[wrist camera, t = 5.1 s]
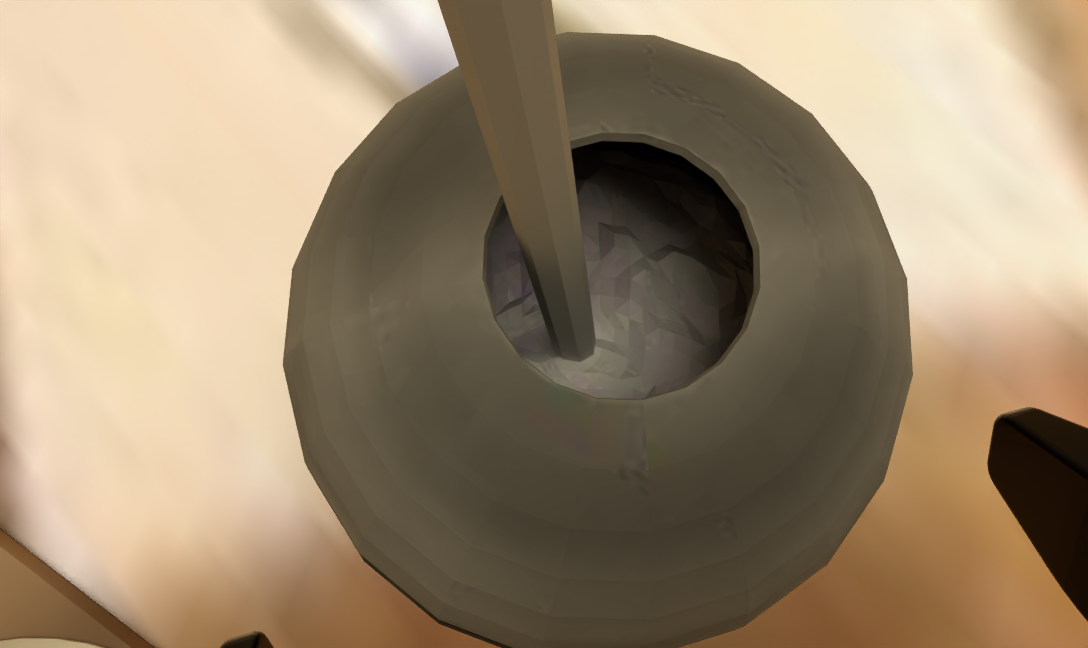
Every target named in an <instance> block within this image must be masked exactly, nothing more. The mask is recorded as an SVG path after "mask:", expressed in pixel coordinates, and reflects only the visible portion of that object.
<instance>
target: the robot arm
mask: <svg viewBox="0 0 1088 648" xmlns="http://www.w3.org/2000/svg"><path fill="white" fill-rule="evenodd" d="M987 464H988V471H989V475H990V477H991V480H992V482H993V483H994V485H995V487H996V488H997V490H998V491H999V493H1000V494H1001V496H1002V497H1003V499H1004V501H1005V502H1006V504H1007V505H1008V507H1009V508H1010V510H1011V511H1012V513H1013V515H1014V516H1015V518H1016V519H1017V521H1018V522H1019V524H1020V525H1021V527H1022V528H1023V530H1024V532H1025V533H1026V535H1027V536H1028V538H1029V539H1030V541H1031V542H1032V544H1033V546H1034V547H1035V549H1036V550H1037V552H1038V553H1039V555H1040V556H1041V558H1042V559H1043V561H1044V563H1045V564H1046V566H1047V567H1048V569H1049V570H1050V572H1051V573H1052V575H1053V576H1054V578H1055V579H1056V581H1057V582H1058V583H1059V585H1060V586H1061V588H1062V589H1063V591H1064V592H1065V593H1066V595H1067V596H1068V597H1069V598H1070V600H1071V601H1072V602H1073V604H1074V605H1075V606H1076V608H1077V609H1078V610H1079V611H1080V613H1081V614H1082V615H1083V616H1084V618H1085V619H1086V620H1087V621H1088V428H1086V427H1084V426H1081V425H1078V424H1076V423H1073V422H1071V421H1068V420H1066V419H1063V418H1061V417H1058V416H1056V415H1053V414H1050V413H1048V412H1045V411H1043V410H1040V409H1037V408H1033V407H1026V408H1021V409H1018V410H1014V411H1011V412H1008V413H1004V414H1001V415H1000V416H998V417H997V419H996V420H995V422H994V425H993V431H992V437H991V443H990V449H989V455H988V463H987ZM220 648H274V647H273V646H272V644H271V643H270V641H269V639H268V638H267V637H266V635H265V634H264V633H262V632H260V631H254V632H251V633H248V634H244V635H241V636H237V637H234V638H231V639H229V640H227V641H225V642H224V643H223V644H222V646H221V647H220Z"/></svg>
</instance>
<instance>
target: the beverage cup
mask: <svg viewBox="0 0 1088 648" xmlns="http://www.w3.org/2000/svg"><path fill="white" fill-rule="evenodd" d="M438 3H439V6H440V9H441V12H442V15H443V18H444V21H445V24H446V27H447V30H448V33H449V36H450V39H451V42H452V45H453V48H454V51H455V54H456V57H457V60H458V63H459V66H458V67H456V68H455V69H453V70H451V71H450V72H448V73H446V74H445V75H443V76H441V77H440V78H438V79H436V80H435V81H433V82H431V83H430V84H428V85H426V86H425V87H423V88H421V89H420V90H418V91H416V92H415V93H413V94H411V95H410V96H408V97H406V98H405V99H403V100H401V101H400V102H398V103H396V104H395V105H394V107H393V108H392V109H391V110H390V111H389V112H388V113H387V114H386V116H385V117H384V118H383V119H382V120H381V121H380V122H379V123H378V125H377V126H376V127H375V128H374V129H373V130H372V131H371V132H370V134H369V135H368V136H367V137H366V138H365V139H364V140H363V141H362V143H361V144H360V145H359V146H358V147H357V148H356V149H355V150H354V152H353V153H352V154H351V155H350V156H349V157H348V158H347V159H346V160H345V162H344V163H343V164H342V165H341V166H340V167H339V168H338V169H337V171H336V172H335V173H334V176H333V178H332V180H331V182H330V185H329V187H328V189H327V191H326V194H325V196H324V198H323V200H322V203H321V205H320V207H319V209H318V212H317V214H316V216H315V218H314V221H313V223H312V225H311V227H310V230H309V232H308V234H307V237H306V239H305V241H304V243H303V246H302V248H301V250H300V252H299V255H298V257H297V259H296V262H295V264H294V266H293V269H292V278H291V288H290V298H289V308H288V318H287V328H286V338H285V348H284V358H283V368H284V372H285V377H286V381H287V385H288V390H289V394H290V399H291V403H292V407H293V412H294V416H295V421H296V425H297V430H298V434H299V438H300V443H301V447H302V452H303V456H304V461H305V463H306V465H307V468H308V470H309V471H310V473H311V474H312V476H313V478H314V480H315V482H316V483H317V485H318V487H319V488H320V490H321V491H322V493H323V495H324V496H325V498H326V500H327V501H328V503H329V505H330V506H331V508H332V509H333V511H334V513H335V514H336V516H337V518H338V519H339V521H340V523H341V524H342V526H343V527H344V529H345V531H346V532H347V534H348V536H349V537H350V539H351V541H352V542H353V544H354V545H355V547H356V549H357V550H358V552H359V554H360V555H361V557H362V559H363V560H364V562H366V563H367V564H368V565H369V566H370V567H372V568H373V569H374V570H375V571H376V572H378V573H379V574H380V575H381V576H382V577H384V578H385V579H386V580H387V581H388V582H390V583H391V584H392V585H393V586H394V587H396V588H397V589H398V590H399V591H400V592H402V593H403V594H404V595H405V596H406V597H408V598H409V599H410V600H411V601H412V602H414V603H415V604H416V605H417V606H418V607H420V608H421V609H422V610H423V611H424V612H426V613H427V614H428V615H429V616H430V617H432V618H433V619H434V620H435V621H436V622H438V623H439V624H441V625H444V626H446V627H449V628H451V629H454V630H457V631H459V632H462V633H464V634H467V635H470V636H472V637H475V638H478V639H480V640H483V641H485V642H488V643H491V644H493V645H496V646H498V647H501V648H678V647H682V646H685V645H688V644H691V643H694V642H698V641H701V640H704V639H707V638H710V637H714V636H717V635H720V634H723V633H726V632H729V631H733V630H736V629H738V628H741V627H743V626H745V625H746V624H748V623H749V622H750V621H752V620H753V619H755V618H756V617H757V616H759V615H760V614H761V613H763V612H764V611H765V610H767V609H768V608H769V607H771V606H772V605H773V604H775V603H776V602H777V601H779V600H780V599H781V598H783V597H784V596H785V595H787V594H788V593H789V592H791V591H792V590H794V589H795V588H796V587H798V586H799V585H800V584H802V583H803V582H804V581H806V580H807V579H808V578H810V577H811V576H812V575H814V574H815V573H816V572H818V571H819V570H820V569H822V568H823V567H824V566H826V565H827V564H828V562H829V561H830V560H831V558H832V557H833V555H834V554H835V552H836V551H837V549H838V548H839V546H840V545H841V543H842V542H843V540H844V539H845V537H846V536H847V534H848V533H849V531H850V530H851V528H852V527H853V525H854V524H855V523H856V521H857V520H858V518H859V517H860V515H861V514H862V512H863V511H864V509H865V508H866V506H867V505H868V503H869V502H870V500H871V499H872V497H873V496H874V494H875V493H876V491H877V490H878V489H879V487H880V486H881V484H882V483H883V481H884V478H885V475H886V472H887V469H888V465H889V461H890V458H891V454H892V450H893V446H894V443H895V439H896V435H897V432H898V428H899V424H900V420H901V417H902V413H903V409H904V406H905V402H906V398H907V394H908V391H909V387H910V383H911V379H912V376H913V370H912V354H911V338H910V321H909V305H908V289H907V278H906V276H905V273H904V271H903V268H902V265H901V263H900V260H899V258H898V255H897V253H896V250H895V248H894V245H893V242H892V240H891V237H890V235H889V232H888V230H887V227H886V225H885V222H884V220H883V217H882V214H881V212H880V209H879V207H878V204H877V202H876V199H875V197H874V194H873V191H872V190H871V188H870V186H869V185H868V183H867V182H866V181H865V180H864V178H863V177H862V176H861V175H860V173H859V172H858V171H857V170H856V168H855V167H854V166H853V165H852V163H851V162H850V161H849V160H848V158H847V157H846V156H845V155H844V153H843V152H842V151H841V150H840V148H839V147H838V146H837V145H836V143H835V142H834V141H833V140H832V138H831V137H830V136H829V135H828V133H827V132H826V131H825V129H824V128H823V127H822V126H821V124H820V123H819V122H818V121H817V119H816V118H815V117H814V116H813V114H811V113H810V112H809V111H807V110H806V109H804V108H803V107H801V106H800V105H798V104H797V103H796V102H794V101H793V100H791V99H790V98H788V97H787V96H785V95H784V94H783V93H781V92H780V91H778V90H777V89H775V88H774V87H772V86H771V85H770V84H768V83H767V82H765V81H764V80H762V79H761V78H759V77H758V76H757V75H755V74H754V73H752V72H751V71H749V70H748V69H746V68H745V67H744V66H742V65H741V64H739V63H737V62H734V61H731V60H728V59H725V58H721V57H718V56H715V55H712V54H709V53H706V52H703V51H700V50H697V49H694V48H691V47H688V46H685V45H682V44H679V43H676V42H673V41H670V40H667V39H664V38H661V37H658V36H655V35H630V34H603V33H576V32H566V33H562V34H558V35H556V32H555V25H554V17H553V9H552V2H551V0H438Z"/></svg>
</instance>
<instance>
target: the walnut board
mask: <svg viewBox="0 0 1088 648" xmlns="http://www.w3.org/2000/svg"><path fill="white" fill-rule="evenodd" d="M0 648H154V647H153V646H151V645H150V644H149V643H147V642H146V641H145V640H144V639H142V638H141V637H140V636H138V635H137V634H136V633H134V632H133V631H132V630H131V629H129V628H128V627H127V626H125V625H124V624H123V623H122V622H120V621H119V620H118V619H116V618H115V617H114V616H112V615H111V614H110V613H109V612H107V611H106V610H105V609H103V608H102V607H101V606H99V605H98V604H97V603H96V602H94V601H93V600H92V599H90V598H89V597H88V596H86V595H85V594H84V593H83V592H81V591H80V590H79V589H77V588H76V587H75V586H74V585H72V584H71V583H70V582H68V581H67V580H66V579H64V578H63V577H62V576H61V575H59V574H58V573H57V572H55V571H54V570H53V569H51V568H50V567H49V566H48V565H46V564H45V563H44V562H42V561H41V560H40V559H38V558H37V557H36V556H35V555H33V554H32V553H31V552H29V551H28V550H27V549H26V548H24V547H23V546H22V545H20V544H19V543H18V542H16V541H15V540H14V539H13V538H11V537H10V536H9V535H7V534H6V533H5V532H3V531H2V530H1V529H0Z"/></svg>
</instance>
